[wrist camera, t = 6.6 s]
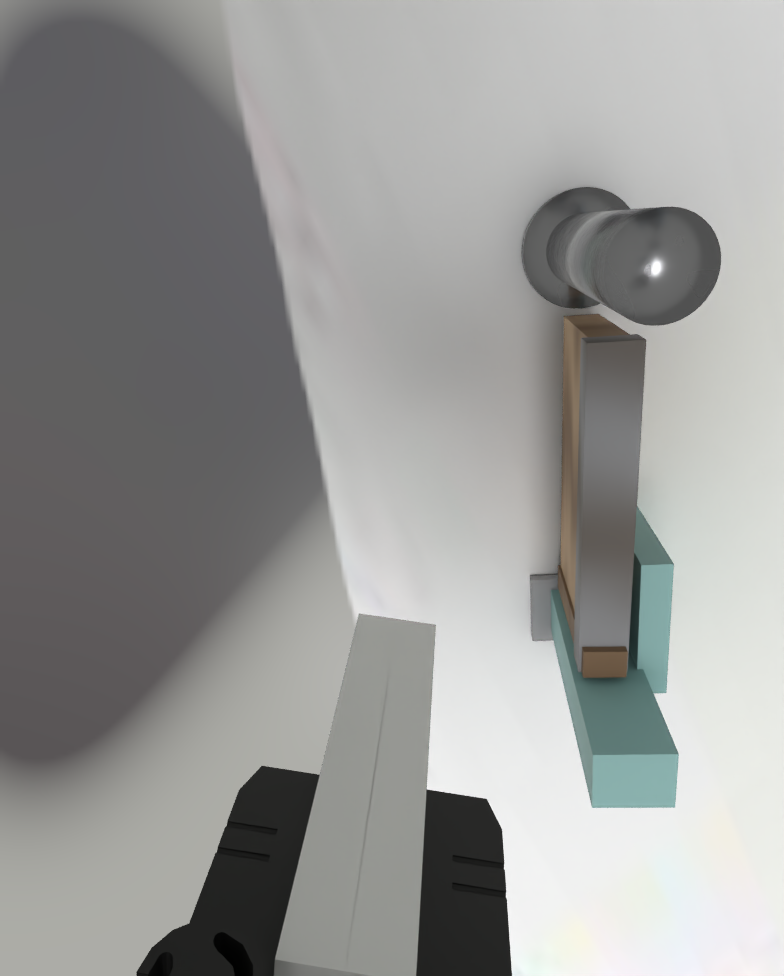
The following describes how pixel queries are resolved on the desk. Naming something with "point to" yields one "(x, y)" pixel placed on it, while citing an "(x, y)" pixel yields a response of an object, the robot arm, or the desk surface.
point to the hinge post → (621, 256)
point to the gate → (599, 488)
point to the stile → (621, 687)
